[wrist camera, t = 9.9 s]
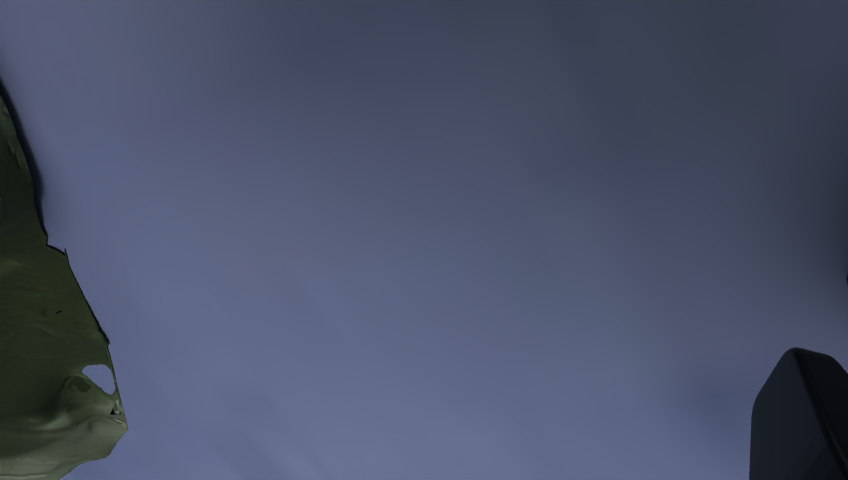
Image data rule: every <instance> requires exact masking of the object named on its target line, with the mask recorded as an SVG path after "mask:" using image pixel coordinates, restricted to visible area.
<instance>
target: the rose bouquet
mask: <svg viewBox="0 0 848 480" xmlns="http://www.w3.org/2000/svg"><path fill="white" fill-rule="evenodd" d="M0 199H1V204H2V213H1V218H0V480H59V479H60V478H62V477H63V476H65V475H66V474H67V473H69V472H70V471H71V470H72V469H74V468H75V467H76V466H78V465H79V464H82V463H85V462H88V461H93V460H97V459H102V458H106V457H107V456H109V454H110V453H111V451H112V449H113V448H114V446H115V444H116V443H117V441H118V440H119V439H120V438H121V437H122V436H123V435H124V433H125V432H126V431H127V430H128V428H127V424H126V419H125V415H124V411H123V407H122V403H121V399H120V395H119V391H118V387H117V383H116V378H115V374H114V370H113V365H112V361H111V358H110V354H109V351H108V348H107V346H108V344H109V343H108V342H107V340H106V339H105V337H104V335H103V334H102V332H101V331H100V329H99V327H98V325H97V323H96V321H95V319H94V317H93V315H92V313H91V311H90V309H89V307H88V305H87V303H86V301H85V299H84V297H83V295H82V293H81V290H80V288H79V286H78V284H77V282H76V280H75V278H74V275H73V273H72V271H71V269H70V267H69V262H68V258H67V253H66V249H65V255H63V254H62V253H60V252H59V251H57V250H54V249H52V248H49V247H47V246H46V241H47V236H46V235H45V233H44V232H43V231H42V229H41V226H40V222H39V219H38V216H37V212H36V209H35V206H34V193H33V182H32V176H31V173H30V170H29V168H28V165H27V162H26V158H25V155H24V152H23V150H22V147H21V145H20V143H19V140H18V138H17V136H16V130H15V127H14V124H13V121H12V119H11V117H10V114H9V112H8V110H7V107H6V105H5V103H4V100H3V98H2V97H1V95H0ZM98 364H104V365H106V366H108V367H109V368H110V369H111V371H112V375H113V379H114V384H115V387H116V389H115V391H114V393H113V394H112V395H110V394H107V393H105V392H104V391H103V390H102V388H100V387H98V386H97V385H96V384H95V383H93V382H92V381H91V380H90V379H89V378H88V377H87V376H86V375H84V374H83V373H82V369H83V368H84V367H86V366H87V365H98Z"/></svg>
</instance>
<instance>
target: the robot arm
mask: <svg viewBox="0 0 848 480" xmlns="http://www.w3.org/2000/svg"><path fill="white" fill-rule="evenodd" d="M1 213H2V204H1V199H0V218H1ZM846 280H847V284H848V275H847V278H846ZM749 480H848V373H847V372H846V371H845V370H844V369H843V368H842V366H841V365H840V364H839V363H838V362H837V361H836V360H835V359H834V358H833V357H831V356H829V355H826V354H822V353H818V352H814V351H810V350H806V349H802V348H791V349H789V350H787V351H786V352H785V353H784V354H783V356H782V357H781V359H780V360H779V362H778V363H777V365H776V366H775V368H774V370H773V371H772V373H771V374H770V376H769V378H768V379H767V381H766V382H765V384H764V385H763V387H762V389H761V390H760V392H759V393H758V395H757V397H756V400H755V402H754V406H753V410H752V418H751V444H750V471H749Z"/></svg>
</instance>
